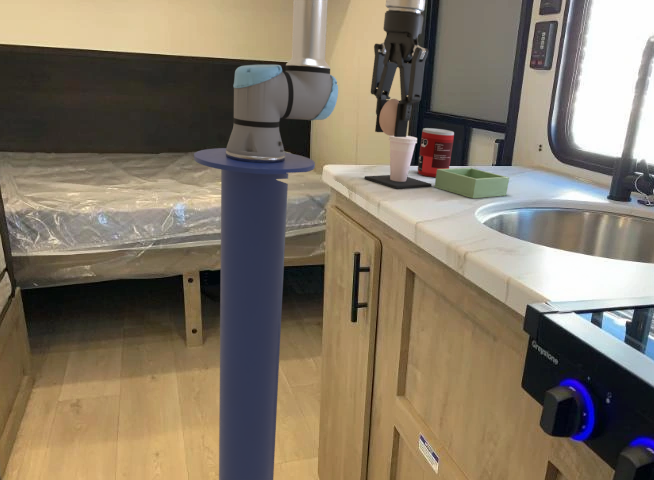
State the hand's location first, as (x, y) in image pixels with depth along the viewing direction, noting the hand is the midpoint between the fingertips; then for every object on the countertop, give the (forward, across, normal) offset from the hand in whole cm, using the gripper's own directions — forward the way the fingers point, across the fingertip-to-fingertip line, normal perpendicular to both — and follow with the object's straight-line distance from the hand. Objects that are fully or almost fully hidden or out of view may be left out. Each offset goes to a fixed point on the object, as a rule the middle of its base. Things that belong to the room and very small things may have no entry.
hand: (390, 134), depth 125 cm
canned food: (+12, +11, -26) cm, 30 cm away
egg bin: (+11, -7, -20) cm, 24 cm away
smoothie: (+11, +5, -8) cm, 15 cm away
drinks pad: (+12, +5, -8) cm, 15 cm away
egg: (0, 0, 0) cm, 0 cm away
